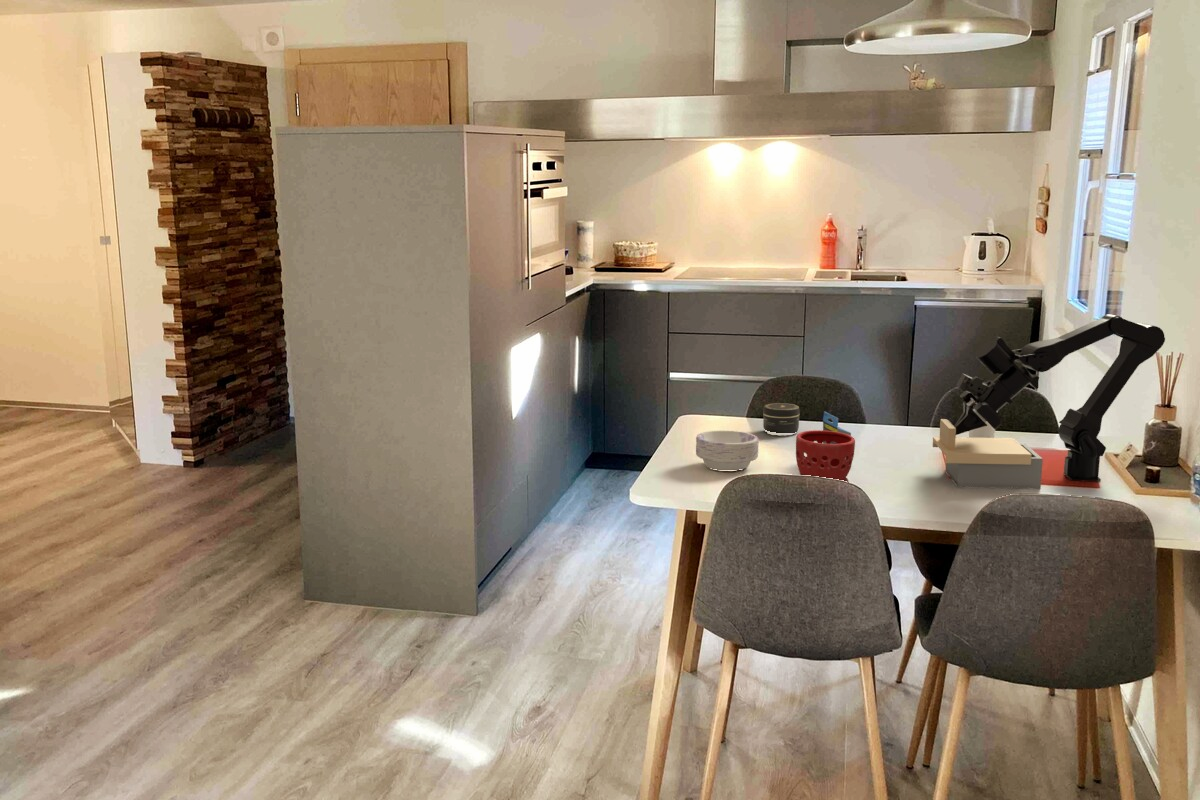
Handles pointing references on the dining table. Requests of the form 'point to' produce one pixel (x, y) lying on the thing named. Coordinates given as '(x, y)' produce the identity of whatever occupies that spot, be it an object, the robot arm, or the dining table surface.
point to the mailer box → (998, 474)
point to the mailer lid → (979, 448)
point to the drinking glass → (983, 432)
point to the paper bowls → (727, 449)
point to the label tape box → (832, 425)
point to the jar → (781, 418)
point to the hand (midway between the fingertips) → (952, 433)
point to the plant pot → (825, 454)
